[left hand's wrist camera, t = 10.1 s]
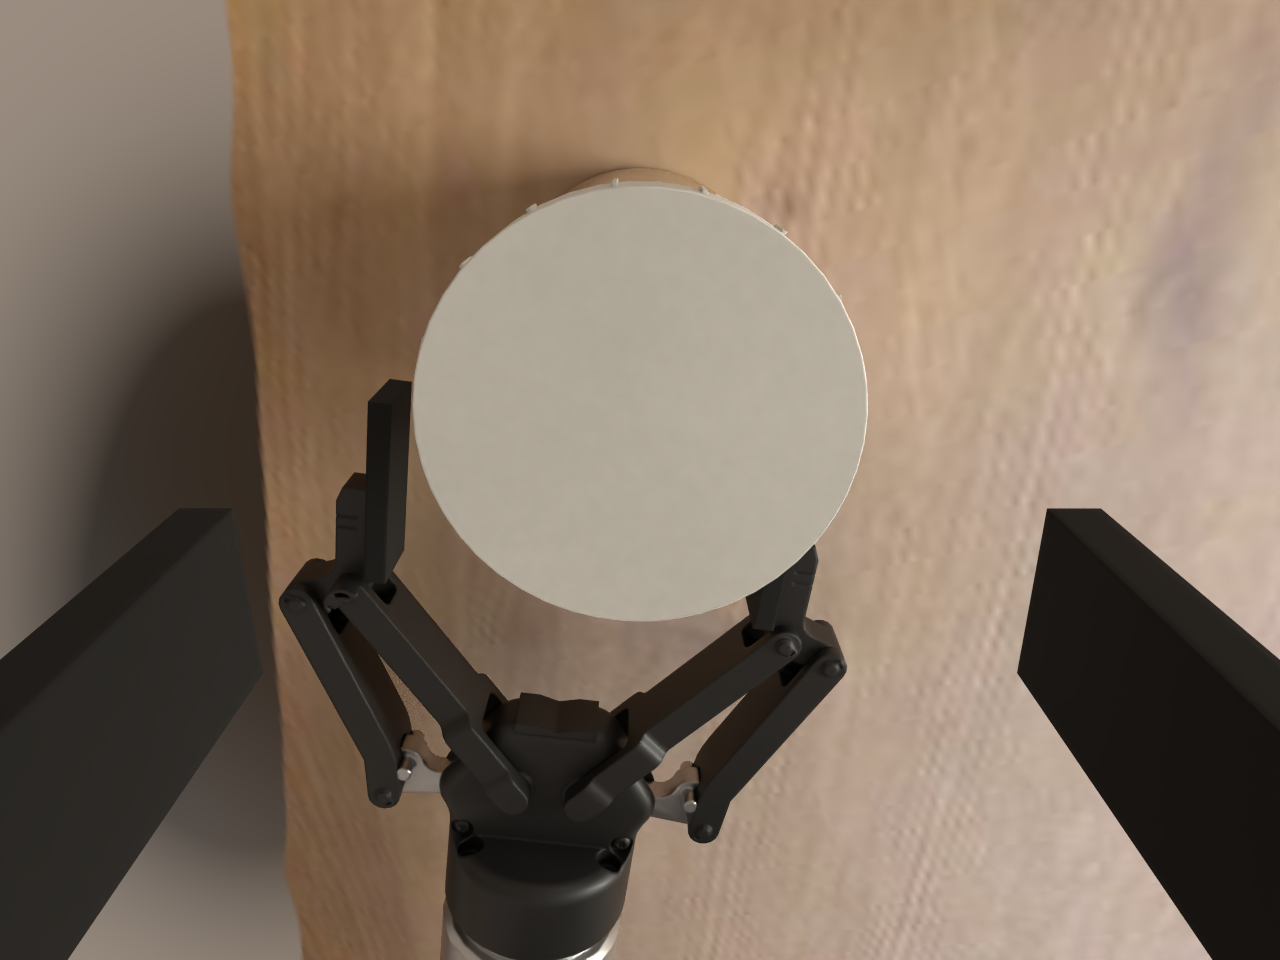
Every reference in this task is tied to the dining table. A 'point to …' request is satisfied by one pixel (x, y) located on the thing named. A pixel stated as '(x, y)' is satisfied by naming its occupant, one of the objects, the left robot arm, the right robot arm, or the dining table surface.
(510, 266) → the lid
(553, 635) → the dining table surface
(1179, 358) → the dining table surface
